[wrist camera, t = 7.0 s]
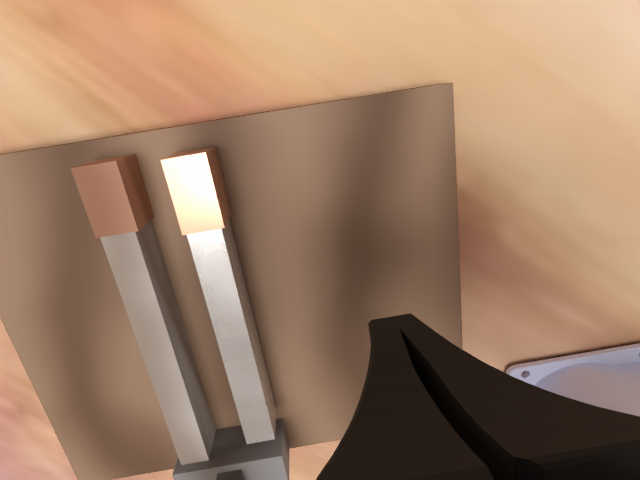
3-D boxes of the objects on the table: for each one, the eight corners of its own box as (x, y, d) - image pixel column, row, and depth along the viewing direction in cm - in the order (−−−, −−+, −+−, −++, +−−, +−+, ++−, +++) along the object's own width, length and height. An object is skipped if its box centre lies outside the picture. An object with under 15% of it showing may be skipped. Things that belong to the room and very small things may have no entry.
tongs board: (440, 83, 18) (489, 78, 14) (454, 399, 24) (492, 467, 20) (-44, 161, 18) (-155, 182, 14) (92, 462, 24) (47, 545, 20)
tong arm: (279, 408, 22) (278, 439, 20) (248, 414, 22) (243, 445, 20) (215, 145, 17) (205, 152, 15) (175, 152, 17) (160, 159, 15)
